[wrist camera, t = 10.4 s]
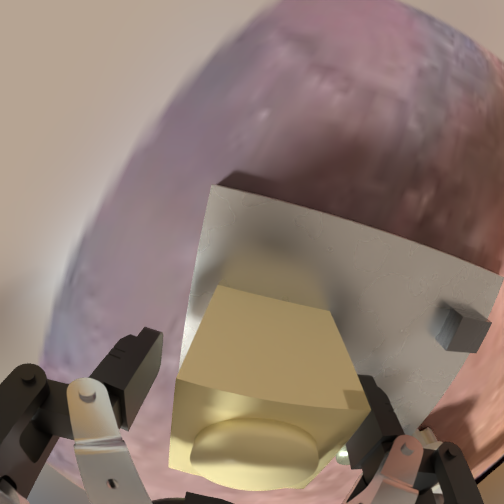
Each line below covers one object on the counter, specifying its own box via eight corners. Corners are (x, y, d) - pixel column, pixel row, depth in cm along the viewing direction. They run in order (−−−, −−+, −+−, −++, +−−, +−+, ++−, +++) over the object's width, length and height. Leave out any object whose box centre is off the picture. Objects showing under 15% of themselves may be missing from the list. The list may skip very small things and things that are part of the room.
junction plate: (494, 272, 12) (558, 310, 6) (407, 426, 15) (431, 483, 9) (216, 184, 11) (167, 189, 6) (178, 401, 15) (150, 476, 9)
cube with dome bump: (329, 311, 11) (377, 426, 5) (294, 391, 13) (304, 500, 6) (217, 284, 11) (168, 395, 5) (199, 371, 13) (164, 479, 6)
